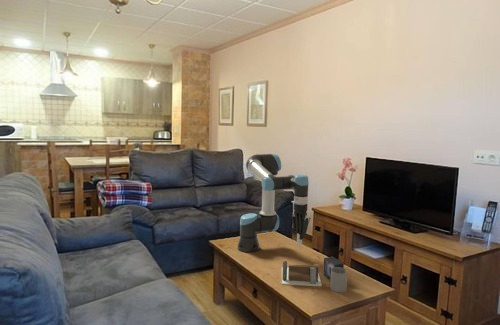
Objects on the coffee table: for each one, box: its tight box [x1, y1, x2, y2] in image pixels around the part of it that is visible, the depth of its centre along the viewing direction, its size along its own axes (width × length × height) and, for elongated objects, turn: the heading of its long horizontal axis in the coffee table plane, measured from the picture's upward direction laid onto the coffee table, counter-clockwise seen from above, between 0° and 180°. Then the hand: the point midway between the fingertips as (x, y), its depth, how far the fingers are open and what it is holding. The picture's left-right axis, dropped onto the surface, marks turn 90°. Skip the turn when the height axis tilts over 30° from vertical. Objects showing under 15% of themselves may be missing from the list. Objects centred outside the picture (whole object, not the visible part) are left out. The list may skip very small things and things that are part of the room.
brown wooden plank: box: [288, 263, 320, 282], centre depth 192 cm, size 2×16×9 cm, turn 85°
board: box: [281, 266, 322, 287], centre depth 199 cm, size 21×21×1 cm
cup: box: [329, 267, 348, 293], centre depth 185 cm, size 8×8×10 cm
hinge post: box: [281, 260, 288, 281], centre depth 193 cm, size 2×2×11 cm
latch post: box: [310, 267, 316, 284], centre depth 189 cm, size 2×3×9 cm
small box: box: [323, 256, 345, 281], centre depth 196 cm, size 11×6×10 cm, turn 23°
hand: (299, 244), depth 197 cm, fingers closed
